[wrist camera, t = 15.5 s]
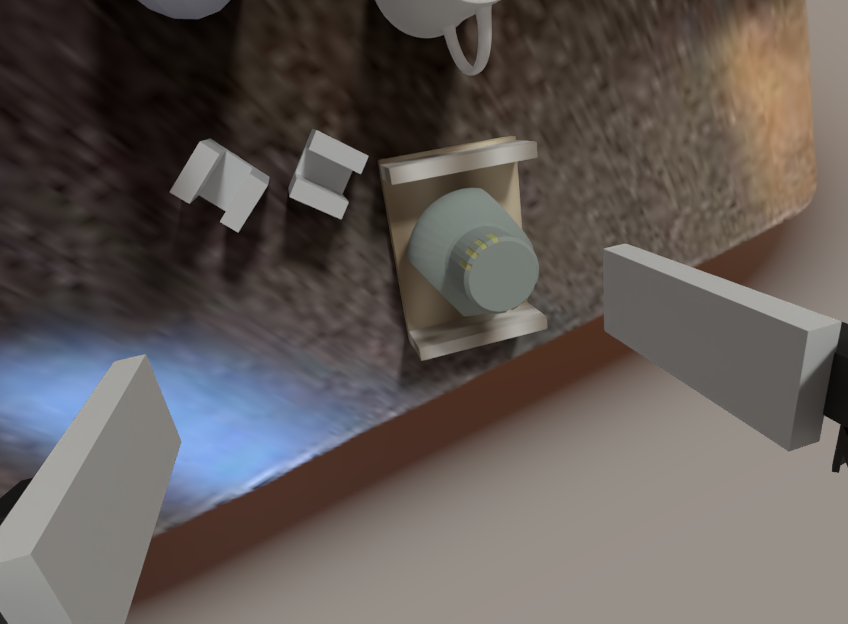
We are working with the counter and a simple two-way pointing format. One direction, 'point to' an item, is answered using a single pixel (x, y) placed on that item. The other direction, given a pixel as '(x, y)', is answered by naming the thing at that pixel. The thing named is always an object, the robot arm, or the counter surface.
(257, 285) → the counter surface
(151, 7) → the white orange spray bottle
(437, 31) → the mug
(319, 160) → the clip
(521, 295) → the air freshener
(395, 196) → the end holder
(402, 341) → the counter surface
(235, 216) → the clip
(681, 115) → the counter surface
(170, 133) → the counter surface
